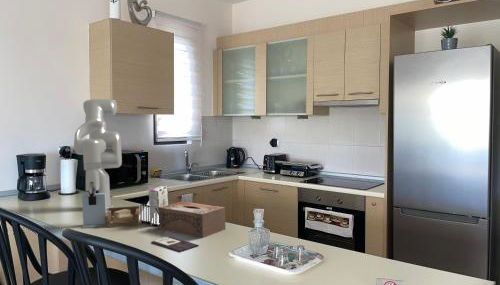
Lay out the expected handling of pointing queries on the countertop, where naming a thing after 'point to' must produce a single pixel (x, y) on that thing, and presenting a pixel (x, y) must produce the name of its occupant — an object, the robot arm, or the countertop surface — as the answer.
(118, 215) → the offcut upper
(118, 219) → the offcut lower
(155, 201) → the candy bar box
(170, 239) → the chocolate bar
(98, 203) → the panel
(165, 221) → the tissue box cover
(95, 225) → the mat
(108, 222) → the rack
